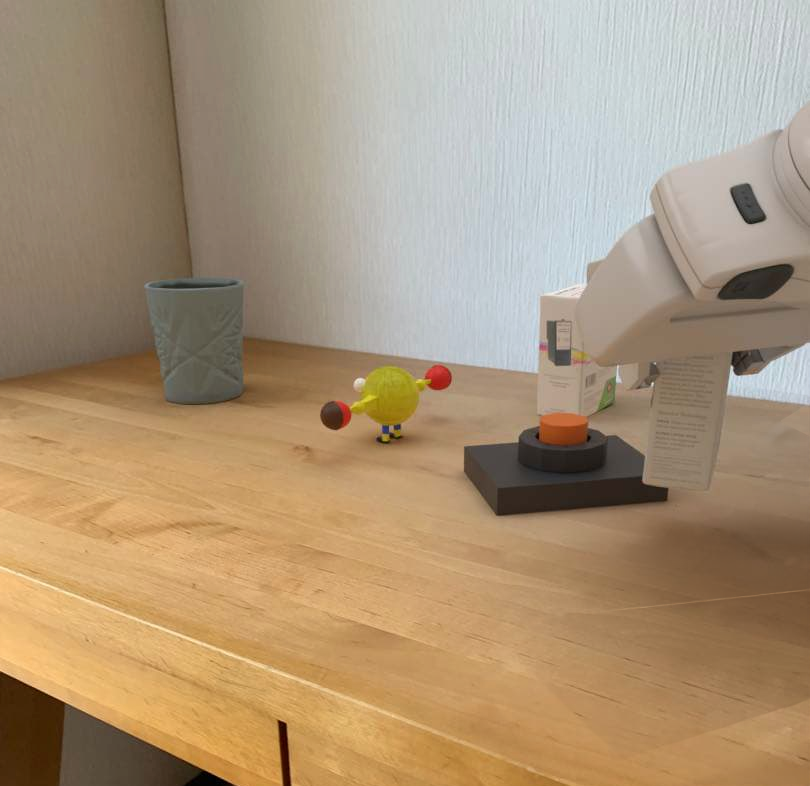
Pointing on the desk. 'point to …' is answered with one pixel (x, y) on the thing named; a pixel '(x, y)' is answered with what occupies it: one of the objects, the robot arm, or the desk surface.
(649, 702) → the desk surface
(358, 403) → the toy figure
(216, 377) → the drinking glass
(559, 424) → the button
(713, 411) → the cosmetic box
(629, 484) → the black button base
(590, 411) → the ink box
